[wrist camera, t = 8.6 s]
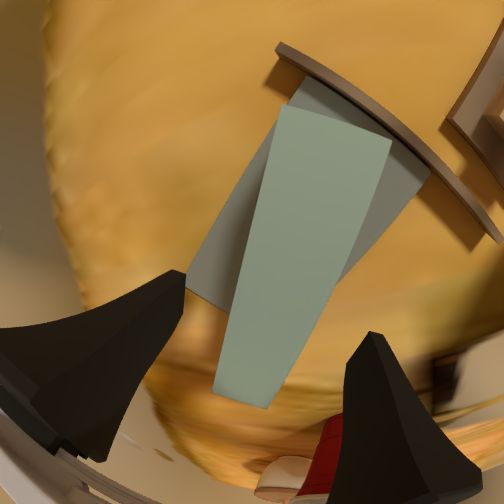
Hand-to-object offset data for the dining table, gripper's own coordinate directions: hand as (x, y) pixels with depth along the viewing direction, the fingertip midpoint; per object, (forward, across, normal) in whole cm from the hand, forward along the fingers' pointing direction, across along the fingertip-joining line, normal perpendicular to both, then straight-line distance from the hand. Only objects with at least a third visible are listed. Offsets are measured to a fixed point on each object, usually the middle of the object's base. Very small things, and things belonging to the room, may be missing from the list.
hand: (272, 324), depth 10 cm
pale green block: (+8, 0, 0) cm, 8 cm away
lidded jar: (+9, -14, +39) cm, 42 cm away
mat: (+9, 0, 0) cm, 9 cm away
